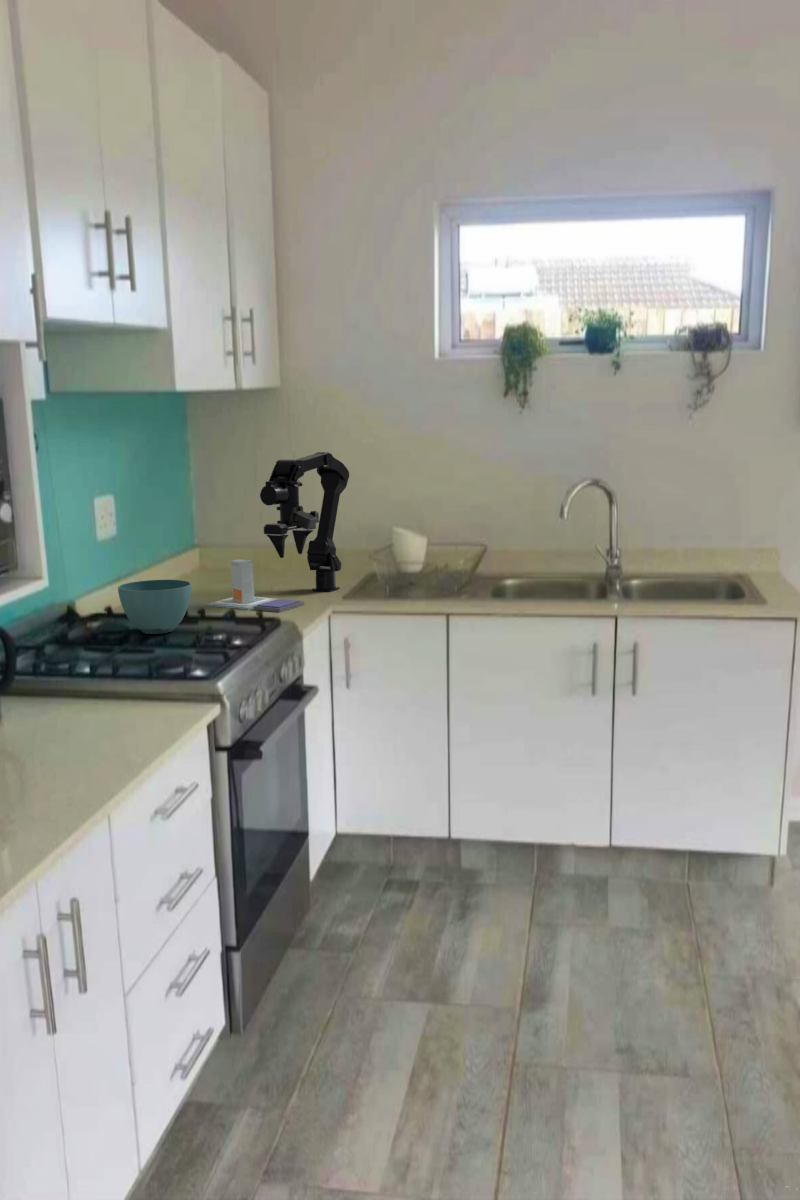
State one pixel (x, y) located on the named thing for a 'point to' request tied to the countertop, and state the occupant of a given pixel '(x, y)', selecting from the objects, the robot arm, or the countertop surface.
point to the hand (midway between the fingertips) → (291, 555)
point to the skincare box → (242, 581)
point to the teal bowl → (155, 602)
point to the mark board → (234, 604)
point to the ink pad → (279, 605)
